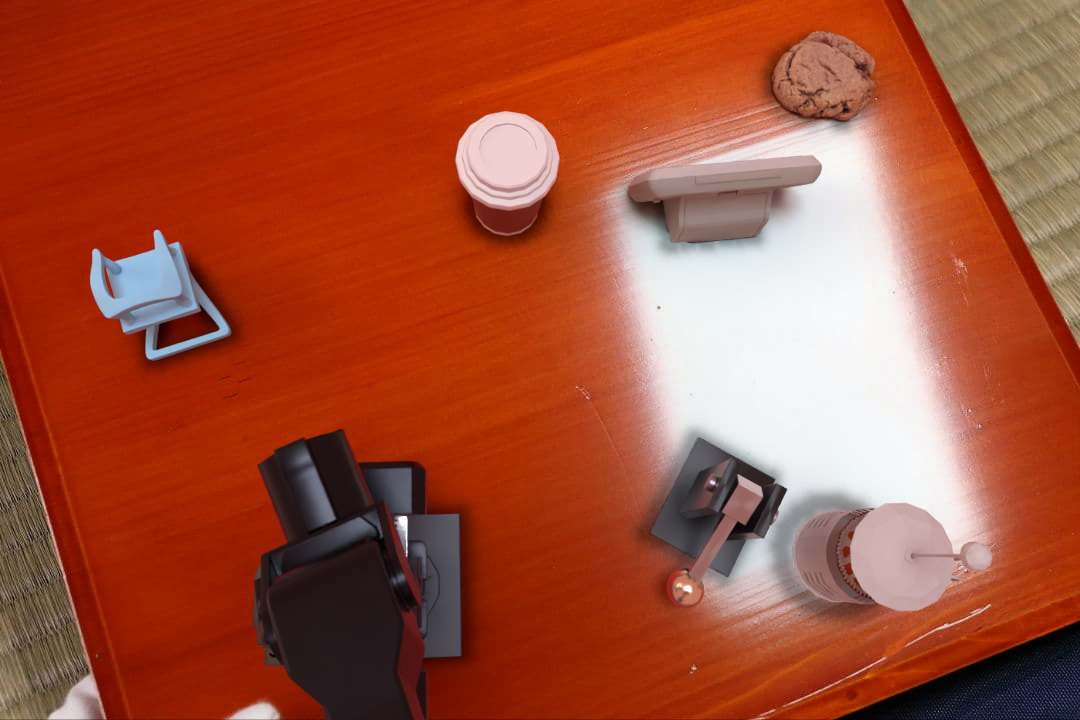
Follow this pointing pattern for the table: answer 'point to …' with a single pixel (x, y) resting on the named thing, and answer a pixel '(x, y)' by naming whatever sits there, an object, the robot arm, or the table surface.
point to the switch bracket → (713, 505)
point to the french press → (880, 556)
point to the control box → (440, 581)
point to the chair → (153, 294)
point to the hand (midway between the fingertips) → (397, 588)
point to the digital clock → (721, 195)
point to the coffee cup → (507, 169)
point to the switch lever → (714, 543)
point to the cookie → (824, 77)
